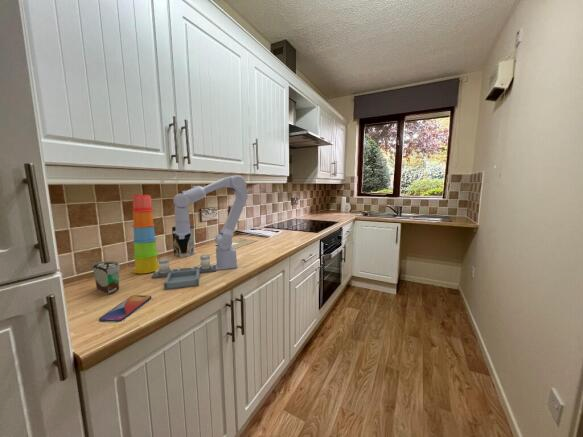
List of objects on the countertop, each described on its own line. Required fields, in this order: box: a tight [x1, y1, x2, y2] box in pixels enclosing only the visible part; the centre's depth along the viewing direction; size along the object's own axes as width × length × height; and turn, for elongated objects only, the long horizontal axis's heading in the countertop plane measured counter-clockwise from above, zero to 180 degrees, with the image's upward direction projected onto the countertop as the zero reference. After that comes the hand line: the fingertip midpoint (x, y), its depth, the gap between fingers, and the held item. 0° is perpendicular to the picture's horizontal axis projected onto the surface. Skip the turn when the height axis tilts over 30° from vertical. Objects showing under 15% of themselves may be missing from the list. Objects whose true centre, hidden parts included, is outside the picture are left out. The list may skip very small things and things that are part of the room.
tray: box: [163, 269, 201, 291], centre depth 99 cm, size 12×12×2 cm
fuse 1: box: [157, 257, 171, 274], centre depth 106 cm, size 4×4×6 cm
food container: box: [92, 260, 122, 296], centre depth 91 cm, size 12×6×10 cm, turn 59°
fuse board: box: [150, 263, 217, 279], centre depth 109 cm, size 26×7×2 cm, turn 109°
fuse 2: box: [199, 254, 211, 270], centre depth 112 cm, size 4×4×6 cm
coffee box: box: [171, 225, 195, 258], centre depth 134 cm, size 9×6×16 cm
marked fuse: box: [179, 242, 190, 258], centre depth 108 cm, size 4×4×6 cm
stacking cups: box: [131, 194, 159, 275], centre depth 109 cm, size 10×10×35 cm
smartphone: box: [98, 294, 152, 323], centre depth 78 cm, size 7×15×1 cm, turn 177°
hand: (184, 251), depth 108 cm, fingers closed on marked fuse, 4 cm apart
